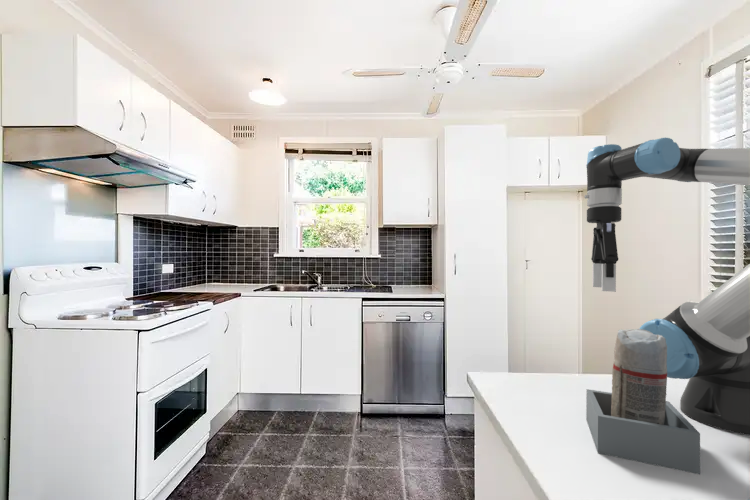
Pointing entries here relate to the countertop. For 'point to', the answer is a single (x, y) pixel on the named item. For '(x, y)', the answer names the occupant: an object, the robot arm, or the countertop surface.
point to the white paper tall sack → (639, 376)
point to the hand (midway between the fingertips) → (603, 289)
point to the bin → (643, 436)
